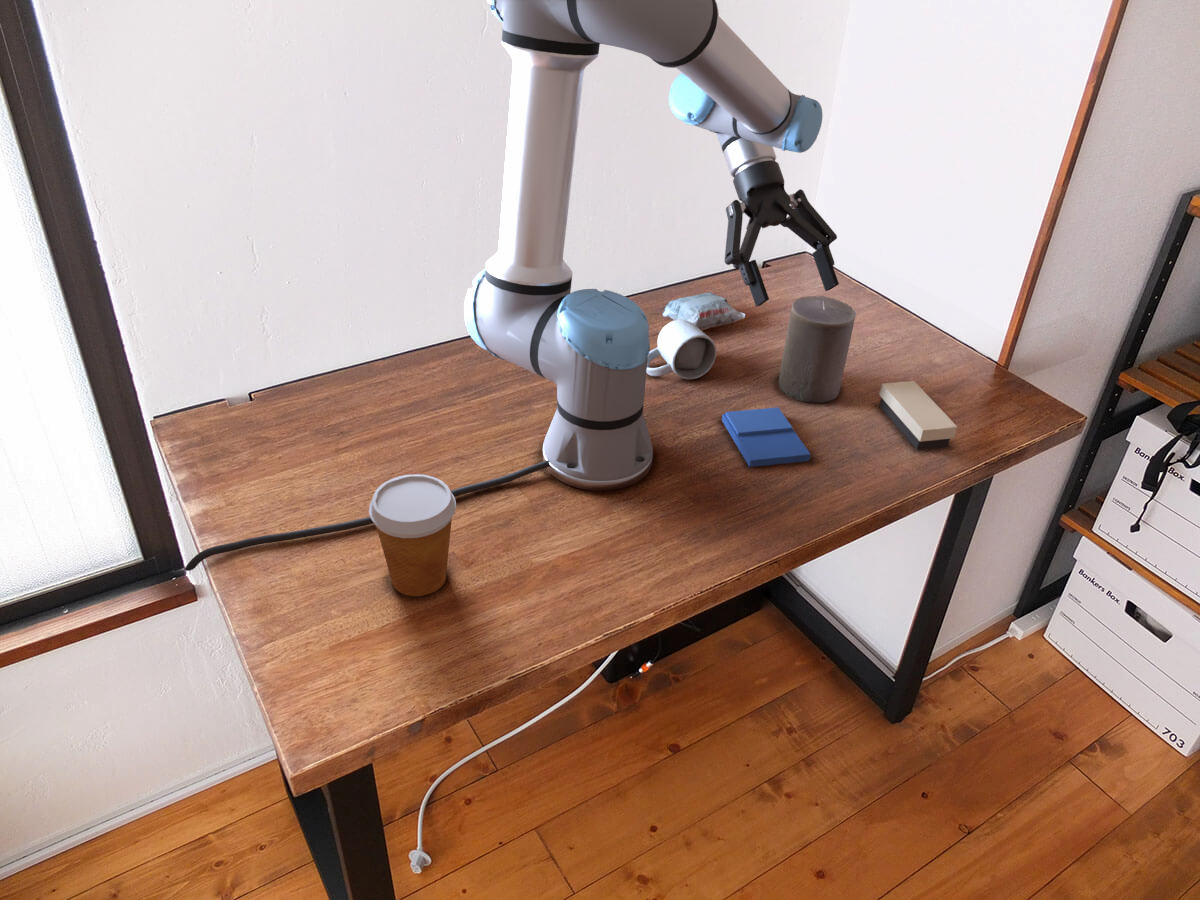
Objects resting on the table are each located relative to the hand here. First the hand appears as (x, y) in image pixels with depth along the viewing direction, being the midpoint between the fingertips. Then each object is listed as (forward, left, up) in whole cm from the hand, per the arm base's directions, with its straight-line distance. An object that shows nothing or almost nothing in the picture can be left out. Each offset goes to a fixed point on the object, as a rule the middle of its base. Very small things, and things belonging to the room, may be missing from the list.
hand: (798, 295), depth 148 cm
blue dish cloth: (-11, -19, -13) cm, 26 cm away
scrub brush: (+13, -19, -13) cm, 26 cm away
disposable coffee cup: (-62, -40, -13) cm, 75 cm away
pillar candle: (+2, -6, -13) cm, 15 cm away
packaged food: (-9, +16, -13) cm, 23 cm away
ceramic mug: (-18, +2, -13) cm, 23 cm away
